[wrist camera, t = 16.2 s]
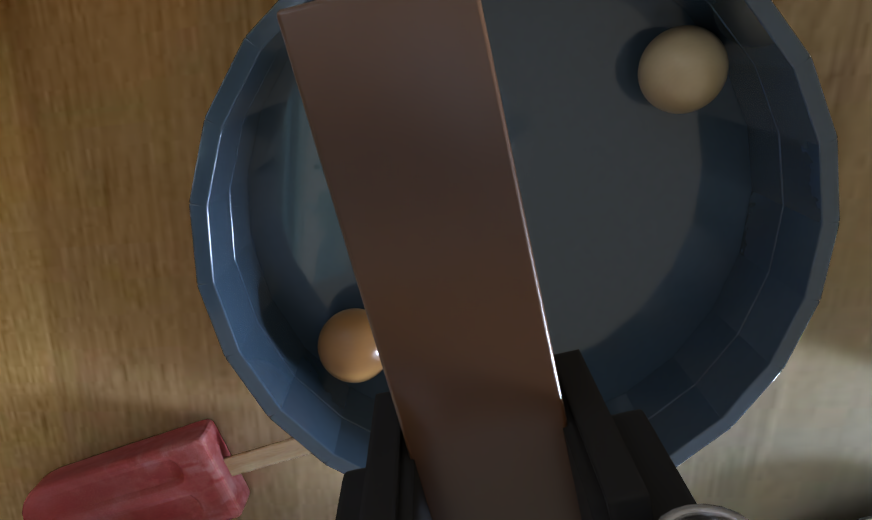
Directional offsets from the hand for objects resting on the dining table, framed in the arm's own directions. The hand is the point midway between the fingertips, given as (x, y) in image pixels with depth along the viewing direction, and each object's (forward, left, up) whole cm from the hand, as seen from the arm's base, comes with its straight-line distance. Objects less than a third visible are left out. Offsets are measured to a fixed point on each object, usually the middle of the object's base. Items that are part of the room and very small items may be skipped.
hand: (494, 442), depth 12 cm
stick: (0, 0, 0) cm, 0 cm away
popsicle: (+9, -15, -16) cm, 24 cm away
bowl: (0, +2, -15) cm, 16 cm away
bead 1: (+4, -5, -13) cm, 15 cm away
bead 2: (-4, +9, -13) cm, 17 cm away
